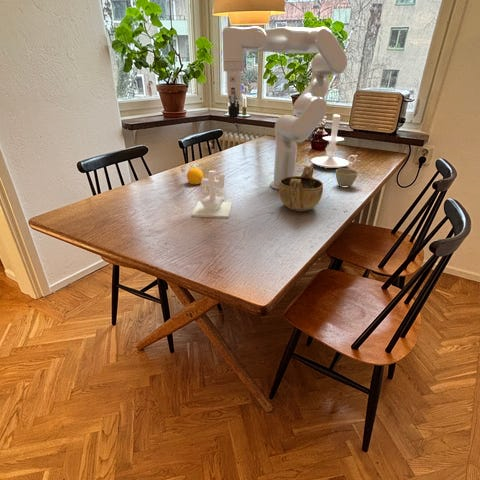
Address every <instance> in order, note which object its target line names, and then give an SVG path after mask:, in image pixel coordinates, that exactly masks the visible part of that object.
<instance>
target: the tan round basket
mask: <svg viewBox="0 0 480 480" xmlns="http://www.w3.org/2000/svg"><path fill="white" fill-rule="evenodd" d="M313 174H314V166H309V165H304V167H303V171H302V174H301V175H298V176H296V175H295V176H291V177H285V178H282V179H281V180H280V184H279V190H278V196H279V199H280V200H281V202H282V204H283V205H284V206H285V207H287V208H288V209H290V210H292V211H296V212H307V211H309V210H312V209H313V208H315V207H316V206H317V205H318V204H319V202H320V201H321V198H322V195H323V193H324V192H323V191H324V183H323V181H321V180H319V179H318V178H314V177H313Z"/></svg>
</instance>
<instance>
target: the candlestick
mask: <svg viewBox="0 0 480 480" xmlns="http://www.w3.org/2000/svg"><path fill="white" fill-rule="evenodd" d="M340 120H341V115H339V114H335V113H334V114H332V122H331V124H332V125H331V133H330V136H323V137H322V139H323V140H325V141H327V142H329V144H328V145H327V147H326V153H327V155H328V156H317V157H313V158H311V160H310V161H311V162H312V164H314V165H316V166H318V167H319V166H320V168H322V167H324V168H323V169H327V168H338V169H343V167H347V168H351V167H353V164H355V163H356V162H357V157H358V155H357V154H355V155H354V154H351V155H348V157H347V159H344V158H341V157H335V154H336V153H337V152H338V146H337V143H338V142H342V141H345V138H344V137H341V136H338V131H339V127H340V122H341V121H340ZM351 157H353V158H354V161H353V162H352V161H350V158H351Z"/></svg>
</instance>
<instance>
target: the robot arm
mask: <svg viewBox="0 0 480 480" xmlns="http://www.w3.org/2000/svg"><path fill="white" fill-rule="evenodd" d="M221 34H222V60H223V64H222V65H223V66H222V67H223V72H224V73H225V72H226V89H227V100H228V101H229V106H228V113H229V114H228V117H229V119H238V118H239V114H240V101H241V100H243V99H242V98H243V97H242V96H243V94H242V93H243V92H242V91H243V90H242V89H243V88H242V87H243V86H242V72H244V71H245V70H244V69H245V63H244V60H245V59H244V58H245V55H244V53H245V52H263V53H266V52H267V53H277V54H315V55H314V56H313V58H312V60H311V65H310V67H311V79H310V81H309V84H307V86H306V87H305V89H304V90H303V91H302V93H301V94H300V95H299V96H298V97H297V99H296V100H295V102H294V103H293V104H292V105H293V106H292V112H293V114H294V115H292V114H283V115H280V116H279V117H278V118H277V119H276V121H275V123H274V135H275V152H274V153H275V154H274V167H273V169H274V170H273V180H271V181H270V183H269V186H270V187H271V188H273V189H274V188H275V190H278V189H279V184H280V180H281V179H282V178H285V177H291V176H296V175H295V174H296V171H295V170H296V162H297V154H298V153H297V152H298V143H301V142H305V140H307V139H308V138H309V137H310V136H311V135H312V133H313V132H314V131H315V129H317V127H318V126H319V125H320V123H322V121H323V119H324V118H325V117H326V114H327V111H328V104H327V103H328V102H327V101H326V100H325V96H327V93H328V91H329V86H330V84H329V83H330V81H329V80H330V79H329V78H330V77H329V76H339V75H342V73H344V72H345V70H346V69H347V67H348V57H347V54H346V52H345V51H344V49H343V47H342V45H341V44H340V42H339V40H338V39H337V38H336V36H335V34H334V33H333V32H332V31H331V30H330V29H329V28H328V27H326V26H321V27H294V26H280V27H275V28H274V27H273V28H262V27H260V26H249V27H239V26H227V27H226V26H225V27H224V28H223V29H222V33H221Z"/></svg>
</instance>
